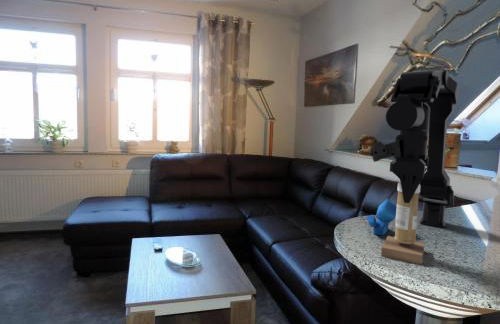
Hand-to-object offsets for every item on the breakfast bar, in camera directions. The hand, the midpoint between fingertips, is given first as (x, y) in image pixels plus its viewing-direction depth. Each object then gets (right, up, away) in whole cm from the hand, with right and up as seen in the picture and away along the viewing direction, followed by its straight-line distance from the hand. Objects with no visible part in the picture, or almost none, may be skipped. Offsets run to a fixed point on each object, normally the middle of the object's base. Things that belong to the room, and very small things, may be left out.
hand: (407, 200), depth 73 cm
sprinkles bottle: (0, -10, +1) cm, 10 cm away
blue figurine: (+1, -11, +16) cm, 19 cm away
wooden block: (0, -12, +1) cm, 12 cm away
